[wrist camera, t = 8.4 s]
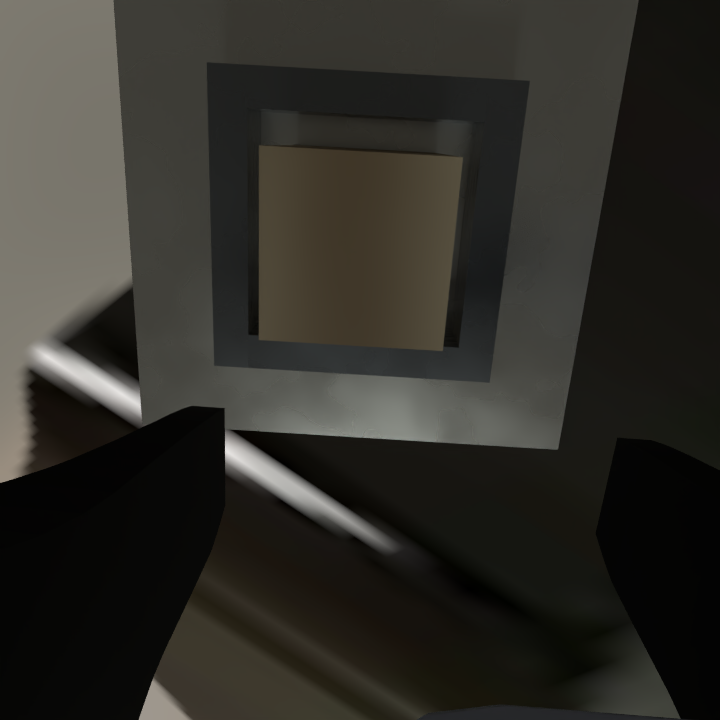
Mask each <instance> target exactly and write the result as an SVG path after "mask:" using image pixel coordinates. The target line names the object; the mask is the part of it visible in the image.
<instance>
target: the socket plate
mask: <svg viewBox="0 0 720 720" xmlns="http://www.w3.org/2000/svg"><path fill="white" fill-rule="evenodd" d="M638 1H639V0H114V13H115V28H116V41H117V42H116V43H117V57H118V70H119V71H118V72H119V87H120V101H121V116H122V129H123V145H124V160H125V175H126V190H127V204H128V219H129V234H130V249H131V262H132V278H133V293H134V308H135V322H136V337H137V352H138V366H139V381H140V396H141V411H142V424H150V423H152V422H155V421H157V420H159V419H161V418H163V417H165V416H167V415H169V414H171V413H173V412H176V411H178V410H180V409H183V408H186V407H189V406H203V407H216V408H225V429H234V430H251V431H267V432H283V433H299V434H315V435H331V436H347V437H363V438H379V439H396V440H412V441H428V442H444V443H460V444H476V445H492V446H508V447H524V448H541V449H557V450H558V446H559V440H560V434H561V429H562V423H563V418H564V412H565V407H566V401H567V396H568V390H569V384H570V379H571V373H572V368H573V362H574V357H575V351H576V346H577V340H578V334H579V329H580V323H581V318H582V312H583V307H584V301H585V295H586V290H587V284H588V279H589V273H590V268H591V262H592V257H593V251H594V245H595V240H596V234H597V229H598V223H599V218H600V212H601V207H602V201H603V195H604V190H605V184H606V179H607V173H608V168H609V162H610V157H611V151H612V145H613V140H614V134H615V129H616V123H617V118H618V112H619V106H620V101H621V95H622V90H623V84H624V79H625V73H626V68H627V62H628V56H629V51H630V45H631V40H632V34H633V29H634V23H635V18H636V12H637V6H638ZM259 145H308V146H325V147H343V148H360V149H377V150H394V151H412V152H429V153H440V154H446V155H452V156H458V157H463V162H462V172H461V181H460V191H459V200H458V210H457V219H456V229H455V239H454V248H453V258H452V267H451V277H450V287H449V296H448V306H447V315H446V325H445V334H444V344H443V351H433V350H417V349H400V348H384V347H367V346H351V345H334V344H318V343H301V342H285V341H268V340H259Z"/></svg>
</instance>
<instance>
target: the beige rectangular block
mask: <svg viewBox="0 0 720 720" xmlns="http://www.w3.org/2000/svg"><path fill="white" fill-rule="evenodd" d="M462 162H463V157H458V156H452V155H446V154H440V153H429V152H412V151H394V150H377V149H360V148H343V147H325V146H308V145H259V340H268V341H285V342H301V343H318V344H334V345H351V346H367V347H384V348H400V349H417V350H433V351H443V344H444V334H445V325H446V315H447V306H448V296H449V287H450V277H451V267H452V258H453V248H454V239H455V229H456V219H457V210H458V200H459V191H460V181H461V172H462Z"/></svg>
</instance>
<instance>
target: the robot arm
mask: <svg viewBox="0 0 720 720" xmlns="http://www.w3.org/2000/svg"><path fill="white" fill-rule="evenodd" d="M224 507H225V408H216V407H203V406H189V407H186V408H183V409H180V410H178V411H176V412H173V413H171V414H169V415H167V416H165V417H163V418H161V419H159V420H157V421H155V422H152V423H150V424H148V425H146V426H144V427H142V428H140V429H138V430H136V431H134V432H132V433H130V434H128V435H126V436H123V437H121V438H119V439H117V440H115V441H112V442H110V443H108V444H105V445H103V446H101V447H98V448H96V449H94V450H92V451H89V452H87V453H85V454H82V455H80V456H78V457H75V458H73V459H70V460H68V461H65V462H63V463H60V464H57V465H55V466H52V467H49V468H46V469H43V470H40V471H37V472H34V473H31V474H28V475H25V476H22V477H19V478H16V479H13V480H9V481H6V482H2V483H0V720H139V716H140V714H141V711H142V708H143V705H144V702H145V699H146V696H147V694H148V690H149V688H150V685H151V682H152V679H153V677H154V674H155V672H156V670H157V667H158V665H159V662H160V660H161V658H162V655H163V653H164V651H165V649H166V646H167V644H168V642H169V640H170V638H171V636H172V634H173V632H174V630H175V627H176V625H177V623H178V621H179V619H180V617H181V615H182V613H183V610H184V608H185V606H186V604H187V602H188V600H189V598H190V596H191V594H192V591H193V589H194V587H195V585H196V583H197V581H198V579H199V576H200V574H201V572H202V570H203V568H204V566H205V563H206V561H207V559H208V557H209V555H210V552H211V550H212V547H213V544H214V541H215V538H216V535H217V531H218V528H219V525H220V521H221V518H222V514H223V511H224ZM596 536H597V539H598V542H599V546H600V549H601V552H602V555H603V558H604V561H605V564H606V567H607V570H608V573H609V575H610V578H611V581H612V583H613V585H614V587H615V589H616V591H617V593H618V595H619V597H620V599H621V601H622V603H623V605H624V607H625V609H626V611H627V613H628V615H629V617H630V619H631V621H632V623H633V625H634V627H635V629H636V631H637V633H638V634H639V636H640V638H641V640H642V642H643V644H644V646H645V648H646V650H647V652H648V654H649V656H650V658H651V659H652V661H653V663H654V665H655V667H656V669H657V671H658V673H659V675H660V677H661V679H662V681H663V683H664V685H665V686H666V688H667V690H668V692H669V694H670V696H671V699H672V701H673V703H674V705H675V707H676V709H677V711H678V714H679V716H680V718H681V719H676V718H663V717H651V716H638V715H625V714H613V713H600V712H588V711H575V710H563V709H550V708H537V707H525V706H512V705H493V706H484V707H476V708H468V709H459V710H451V711H442V712H434V713H428V714H426V715H424V716H422V717H421V718H419V719H417V720H720V470H718V469H716V468H714V467H711V466H709V465H707V464H705V463H703V462H701V461H699V460H697V459H695V458H693V457H691V456H689V455H687V454H685V453H683V452H680V451H678V450H676V449H674V448H671V447H669V446H666V445H664V444H661V443H658V442H655V441H652V440H640V439H626V438H617V442H616V447H615V451H614V455H613V460H612V464H611V469H610V473H609V477H608V482H607V486H606V491H605V495H604V499H603V504H602V508H601V513H600V517H599V521H598V526H597V530H596Z"/></svg>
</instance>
